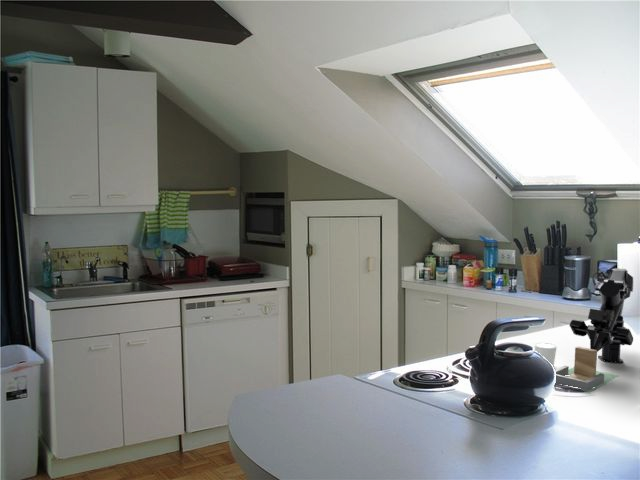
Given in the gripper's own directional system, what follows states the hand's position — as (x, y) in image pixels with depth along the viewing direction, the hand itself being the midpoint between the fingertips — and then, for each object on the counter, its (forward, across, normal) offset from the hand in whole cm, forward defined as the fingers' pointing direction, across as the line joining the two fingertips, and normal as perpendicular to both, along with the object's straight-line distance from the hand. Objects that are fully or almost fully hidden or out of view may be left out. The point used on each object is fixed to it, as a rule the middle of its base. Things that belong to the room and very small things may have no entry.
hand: (591, 354), depth 217 cm
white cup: (+6, -14, +3) cm, 16 cm away
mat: (+10, 0, 0) cm, 10 cm away
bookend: (+11, 0, -2) cm, 11 cm away
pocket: (+13, 0, -4) cm, 13 cm away
